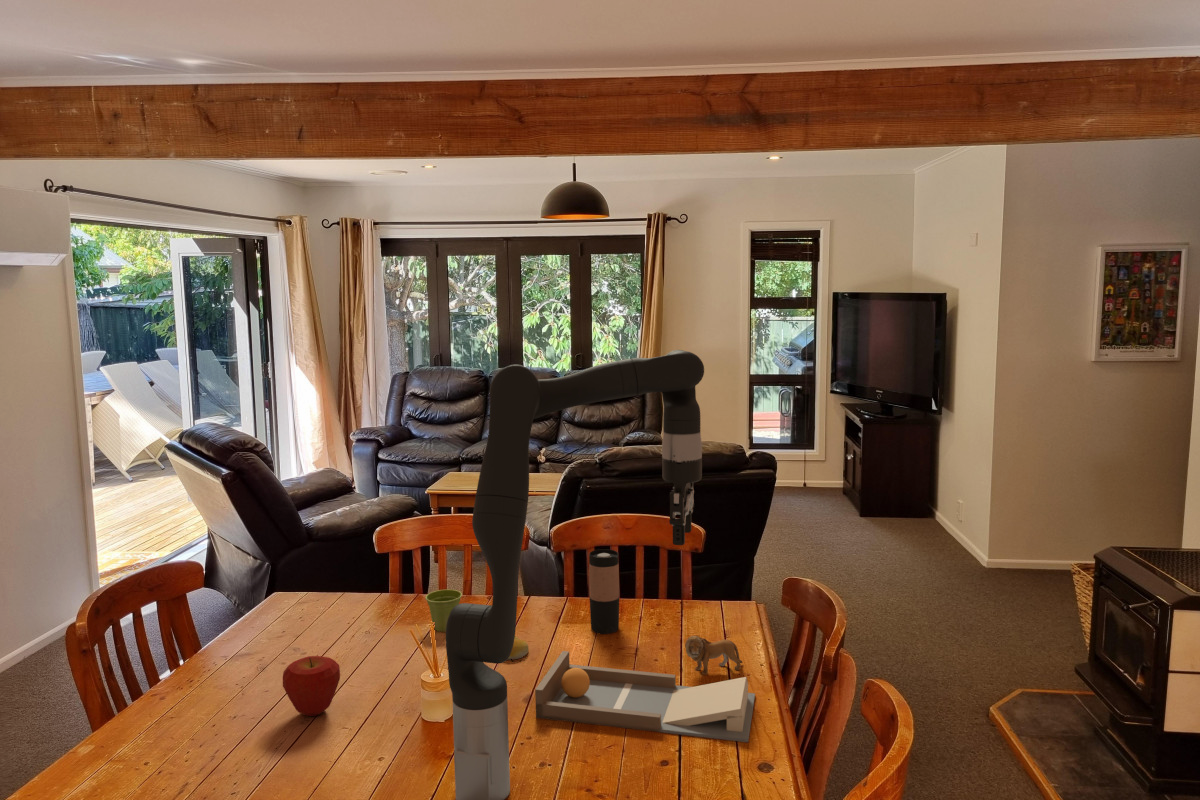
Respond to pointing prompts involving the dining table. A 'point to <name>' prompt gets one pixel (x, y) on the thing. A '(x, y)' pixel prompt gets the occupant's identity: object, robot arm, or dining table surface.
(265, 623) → the dining table surface
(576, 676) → the rubber ball
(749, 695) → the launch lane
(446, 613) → the plant pot
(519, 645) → the bread roll
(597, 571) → the travel mug
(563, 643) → the dining table surface
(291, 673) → the apple
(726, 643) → the lion figurine
